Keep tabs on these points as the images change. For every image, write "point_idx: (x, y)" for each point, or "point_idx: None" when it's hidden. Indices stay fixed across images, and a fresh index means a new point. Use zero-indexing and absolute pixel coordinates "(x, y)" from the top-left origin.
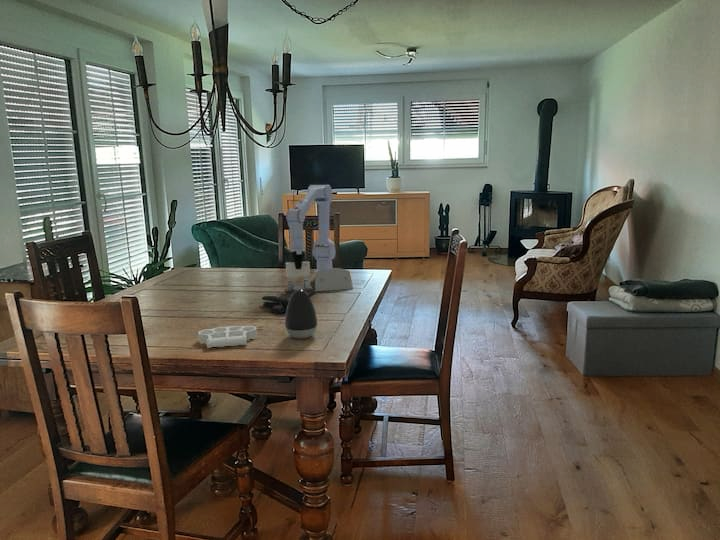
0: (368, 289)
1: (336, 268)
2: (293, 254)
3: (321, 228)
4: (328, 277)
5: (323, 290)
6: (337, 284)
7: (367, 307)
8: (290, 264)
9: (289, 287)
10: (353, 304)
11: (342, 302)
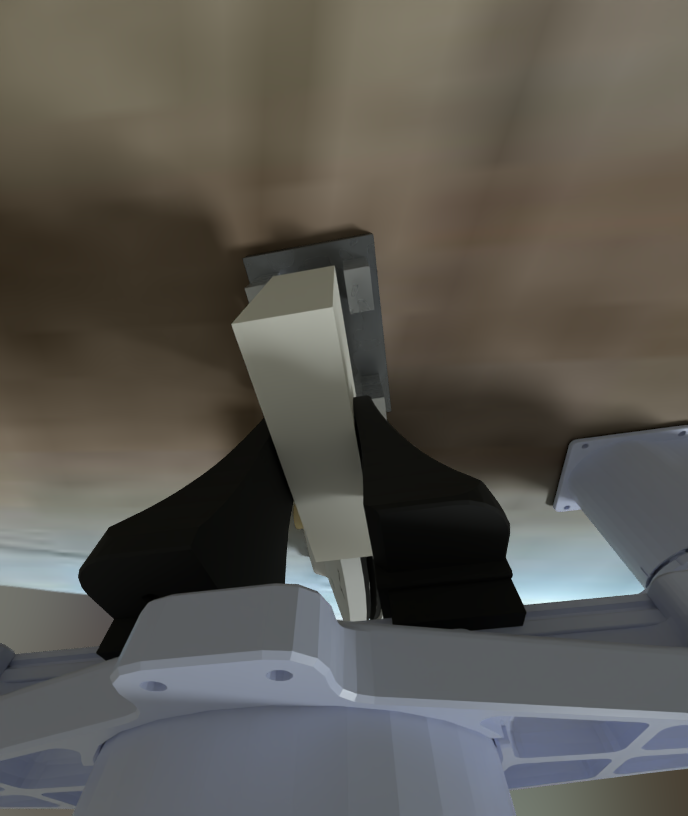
0: None
1: (349, 614)
2: (90, 570)
3: None
4: None
5: None
6: None
7: (19, 582)
8: (257, 378)
9: (255, 281)
10: (46, 553)
11: (66, 525)
